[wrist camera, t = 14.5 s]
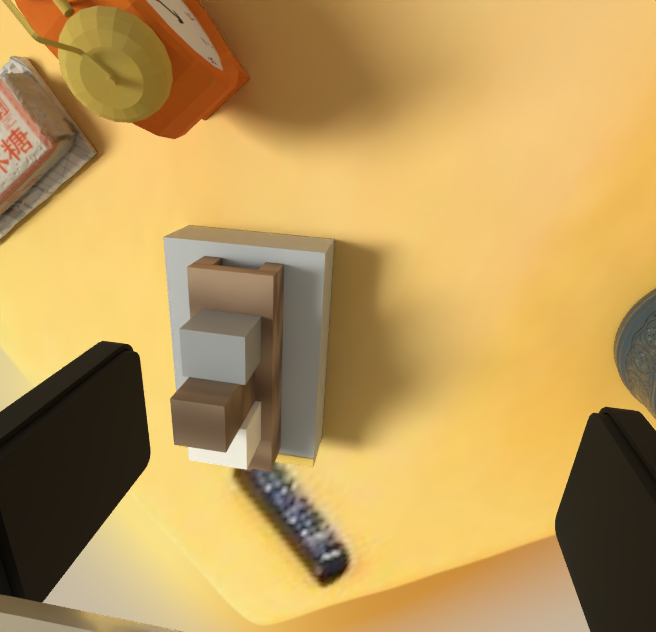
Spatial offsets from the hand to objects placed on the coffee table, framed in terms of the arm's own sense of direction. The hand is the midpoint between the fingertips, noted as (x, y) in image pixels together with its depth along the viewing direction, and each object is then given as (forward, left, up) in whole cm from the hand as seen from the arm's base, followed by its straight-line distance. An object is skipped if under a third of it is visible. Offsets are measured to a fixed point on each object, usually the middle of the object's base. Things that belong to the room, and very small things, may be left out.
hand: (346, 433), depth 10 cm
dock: (+15, -12, -33) cm, 38 cm away
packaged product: (0, -37, -34) cm, 51 cm away
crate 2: (+19, -12, -25) cm, 33 cm away
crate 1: (+11, -12, -25) cm, 30 cm away
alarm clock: (-11, -18, -34) cm, 40 cm away
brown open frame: (+15, -12, -28) cm, 34 cm away
